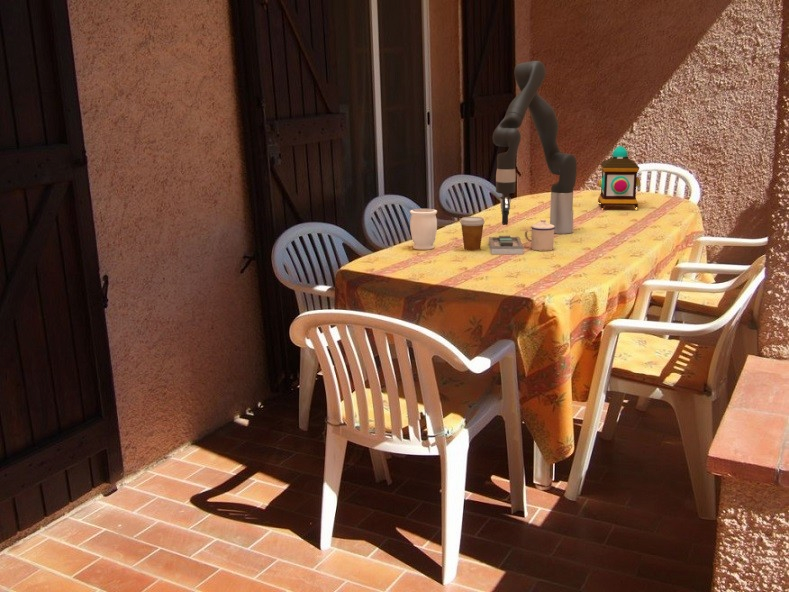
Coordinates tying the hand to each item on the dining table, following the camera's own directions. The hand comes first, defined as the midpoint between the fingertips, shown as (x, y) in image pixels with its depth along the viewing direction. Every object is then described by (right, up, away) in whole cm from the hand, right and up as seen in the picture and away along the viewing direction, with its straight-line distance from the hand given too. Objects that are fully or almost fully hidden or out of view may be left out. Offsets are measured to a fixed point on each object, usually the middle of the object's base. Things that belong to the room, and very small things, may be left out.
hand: (504, 224), depth 344 cm
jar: (-32, -9, +3) cm, 33 cm away
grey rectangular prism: (0, -5, +3) cm, 6 cm away
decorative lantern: (+66, +15, +88) cm, 111 cm away
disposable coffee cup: (-13, -10, +1) cm, 16 cm away
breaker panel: (0, -10, -1) cm, 10 cm away
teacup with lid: (+13, -10, -1) cm, 16 cm away
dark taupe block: (0, -8, -7) cm, 10 cm away
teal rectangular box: (0, -7, -2) cm, 7 cm away
